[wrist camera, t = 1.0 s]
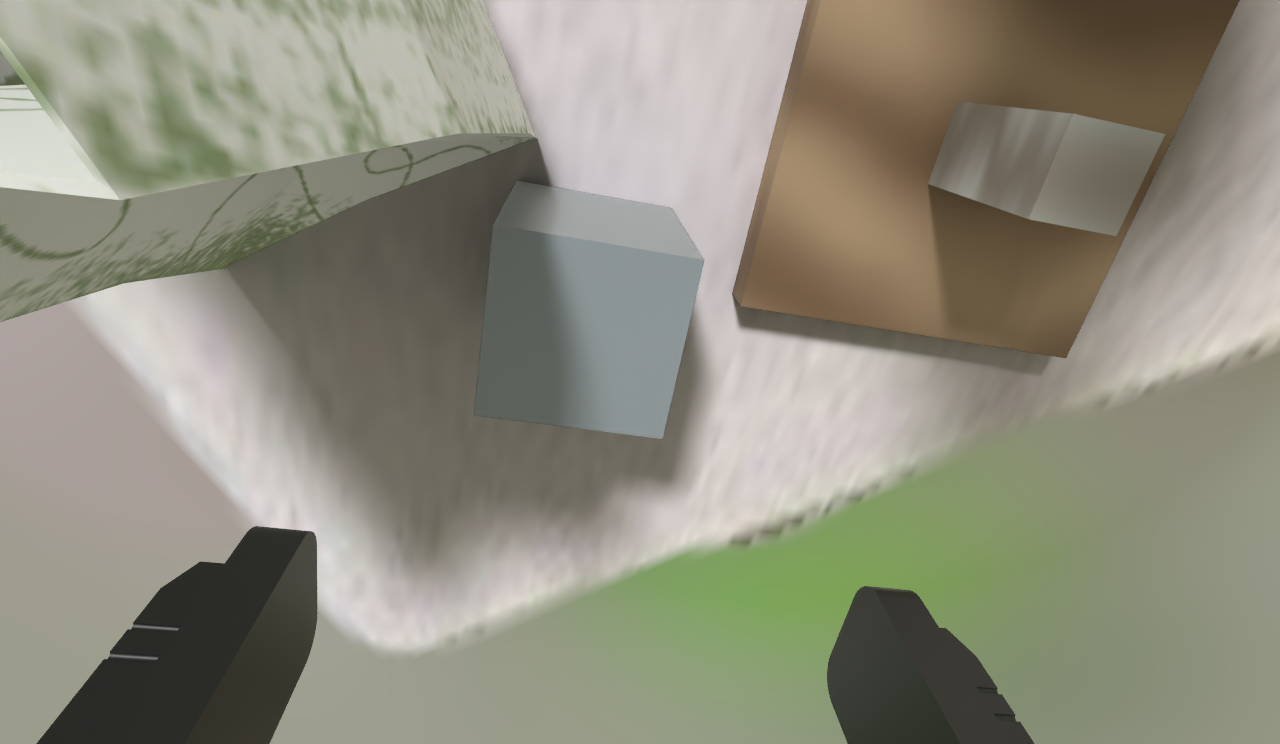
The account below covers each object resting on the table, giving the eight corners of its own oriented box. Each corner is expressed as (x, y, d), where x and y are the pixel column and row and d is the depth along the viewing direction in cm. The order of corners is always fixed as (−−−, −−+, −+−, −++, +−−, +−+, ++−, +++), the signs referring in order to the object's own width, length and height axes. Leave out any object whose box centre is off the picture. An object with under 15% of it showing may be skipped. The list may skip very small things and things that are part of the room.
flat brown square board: (839, -124, 21) (959, -209, 15) (1214, -23, 23) (1472, -58, 17) (732, 293, 27) (783, 372, 20) (1043, 344, 29) (1184, 430, 22)
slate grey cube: (516, 180, 24) (493, 223, 18) (671, 208, 25) (704, 259, 19) (499, 327, 27) (473, 415, 20) (642, 348, 28) (662, 438, 21)
